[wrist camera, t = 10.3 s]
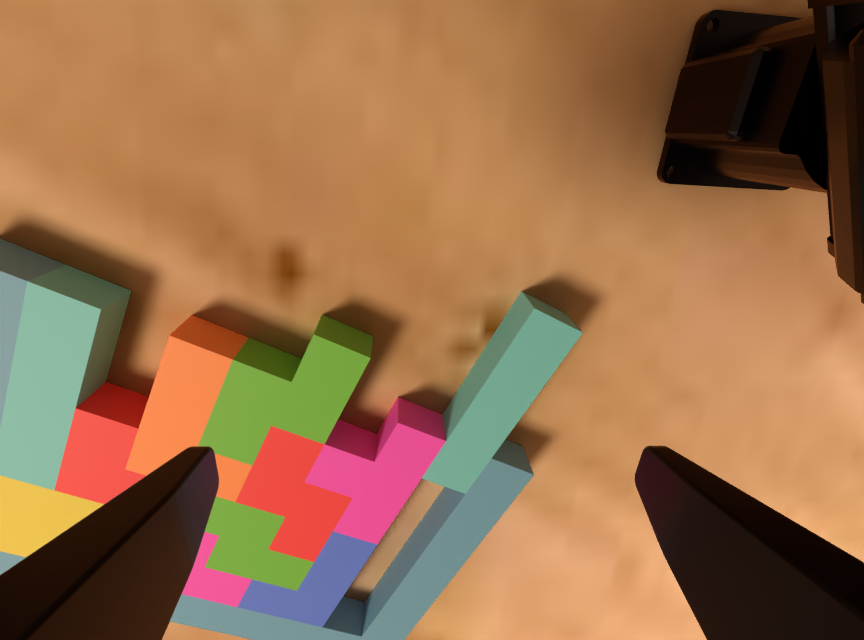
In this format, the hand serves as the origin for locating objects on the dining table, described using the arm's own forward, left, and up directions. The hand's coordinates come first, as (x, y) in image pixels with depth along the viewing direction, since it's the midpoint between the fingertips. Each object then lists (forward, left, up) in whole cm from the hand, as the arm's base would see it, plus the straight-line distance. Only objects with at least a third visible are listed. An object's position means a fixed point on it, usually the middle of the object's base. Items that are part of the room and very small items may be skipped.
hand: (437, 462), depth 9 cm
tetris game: (+8, +10, -14) cm, 19 cm away
